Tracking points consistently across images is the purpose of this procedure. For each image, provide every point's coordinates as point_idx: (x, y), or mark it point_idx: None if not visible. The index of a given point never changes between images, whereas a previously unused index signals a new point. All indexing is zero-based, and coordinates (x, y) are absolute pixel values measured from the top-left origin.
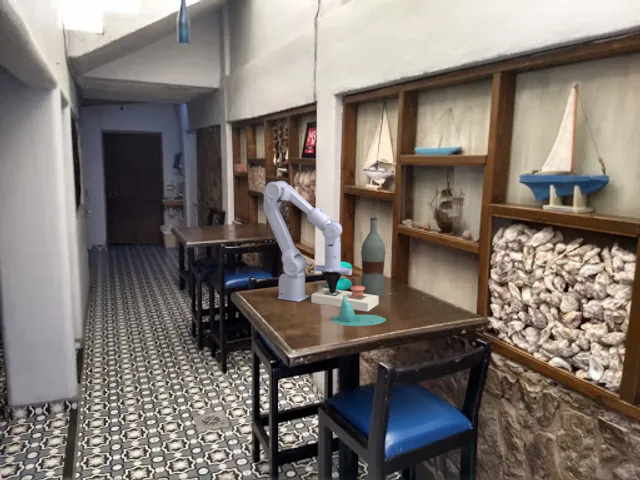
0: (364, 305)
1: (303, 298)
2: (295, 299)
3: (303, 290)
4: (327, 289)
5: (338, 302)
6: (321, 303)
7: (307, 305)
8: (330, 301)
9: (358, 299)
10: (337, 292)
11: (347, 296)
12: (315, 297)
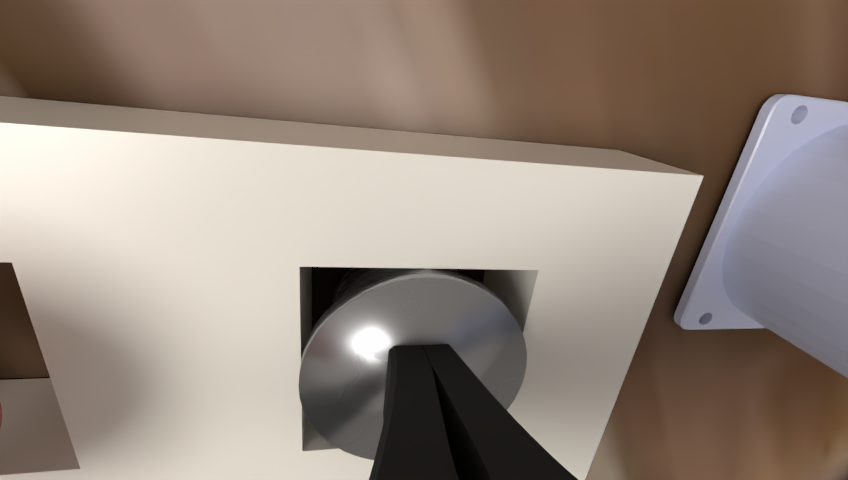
0: None
1: (734, 206)
2: (822, 130)
3: (837, 263)
4: None
5: (180, 121)
6: (487, 141)
7: (646, 8)
8: (346, 134)
9: (40, 414)
10: (332, 394)
11: (90, 335)
12: (613, 162)
